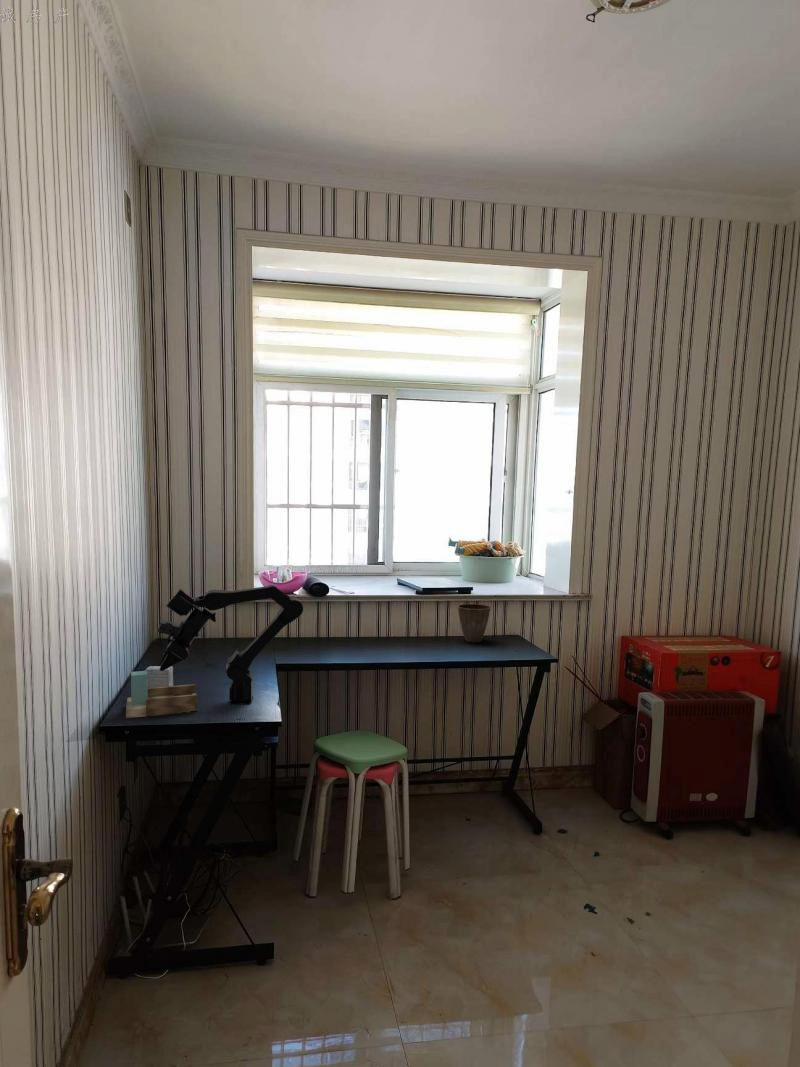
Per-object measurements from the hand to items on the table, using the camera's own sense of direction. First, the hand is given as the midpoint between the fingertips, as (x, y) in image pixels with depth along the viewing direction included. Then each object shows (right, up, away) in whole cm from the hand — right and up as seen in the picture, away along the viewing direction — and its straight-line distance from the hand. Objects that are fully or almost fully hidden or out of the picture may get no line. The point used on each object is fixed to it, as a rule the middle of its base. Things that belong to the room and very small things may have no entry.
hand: (161, 665), depth 203 cm
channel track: (0, -13, -1) cm, 13 cm away
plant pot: (+108, -9, +101) cm, 148 cm away
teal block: (-5, -10, -4) cm, 12 cm away
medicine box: (-6, -12, +13) cm, 19 cm away
